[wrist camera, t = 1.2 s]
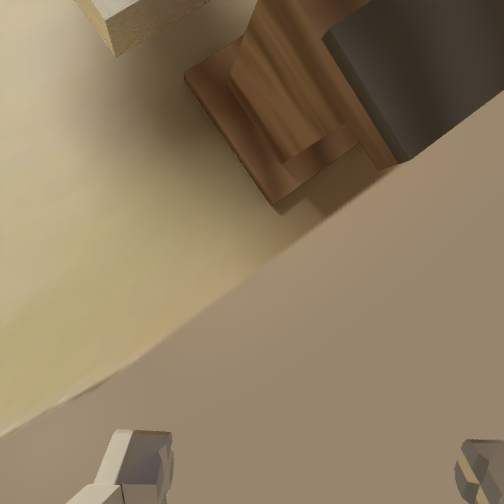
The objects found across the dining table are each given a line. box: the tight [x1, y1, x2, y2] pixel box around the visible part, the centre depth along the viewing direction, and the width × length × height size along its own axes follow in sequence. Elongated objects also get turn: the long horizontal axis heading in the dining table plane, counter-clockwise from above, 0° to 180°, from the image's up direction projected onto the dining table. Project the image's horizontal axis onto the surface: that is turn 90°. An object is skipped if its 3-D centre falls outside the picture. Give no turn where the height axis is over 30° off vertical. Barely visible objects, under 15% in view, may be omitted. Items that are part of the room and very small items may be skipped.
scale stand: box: [184, 0, 504, 205], centre depth 32 cm, size 16×16×26 cm
